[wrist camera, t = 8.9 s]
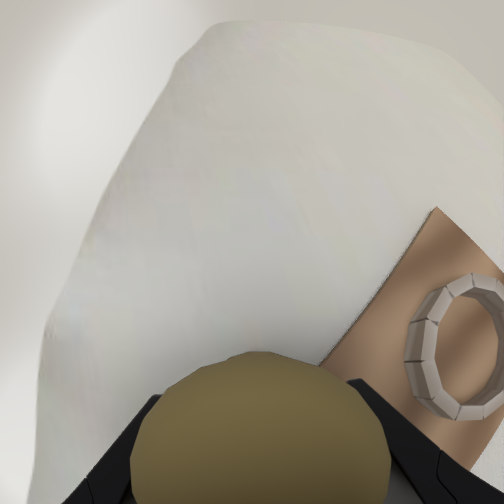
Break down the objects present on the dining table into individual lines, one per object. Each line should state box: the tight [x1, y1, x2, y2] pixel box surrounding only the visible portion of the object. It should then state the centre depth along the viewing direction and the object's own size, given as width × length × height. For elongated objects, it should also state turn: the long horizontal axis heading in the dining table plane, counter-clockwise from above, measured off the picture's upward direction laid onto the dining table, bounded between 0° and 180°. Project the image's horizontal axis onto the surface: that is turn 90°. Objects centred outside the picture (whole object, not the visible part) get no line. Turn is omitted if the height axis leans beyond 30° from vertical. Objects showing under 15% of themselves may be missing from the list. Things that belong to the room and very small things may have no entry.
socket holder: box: [318, 206, 504, 471], centre depth 18 cm, size 16×16×4 cm
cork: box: [130, 352, 391, 504], centre depth 9 cm, size 6×6×11 cm
